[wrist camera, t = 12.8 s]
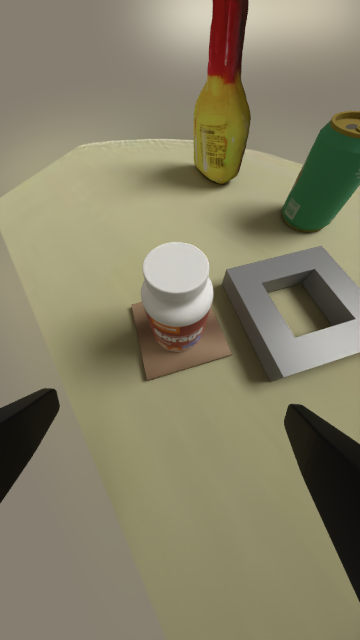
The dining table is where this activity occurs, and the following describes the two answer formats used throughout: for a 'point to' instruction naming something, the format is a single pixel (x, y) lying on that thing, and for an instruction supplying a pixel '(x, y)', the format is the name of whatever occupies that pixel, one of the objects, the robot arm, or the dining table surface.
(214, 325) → the pad
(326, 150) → the beverage can
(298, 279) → the holder
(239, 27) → the bottle
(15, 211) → the dining table surface
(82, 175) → the dining table surface
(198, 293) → the pill bottle
